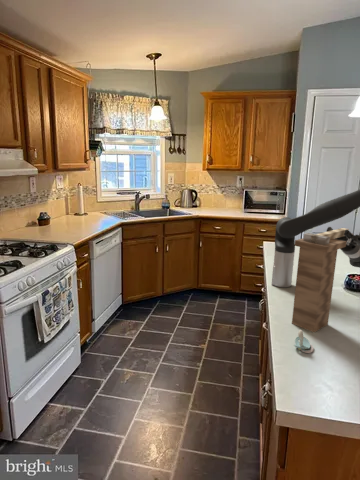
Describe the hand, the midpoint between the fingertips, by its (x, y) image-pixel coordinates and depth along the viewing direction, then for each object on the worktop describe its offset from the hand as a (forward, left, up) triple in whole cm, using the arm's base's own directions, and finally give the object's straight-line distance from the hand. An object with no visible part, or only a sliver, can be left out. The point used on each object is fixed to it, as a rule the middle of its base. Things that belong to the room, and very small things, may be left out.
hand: (337, 230), depth 131 cm
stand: (-6, -10, -34) cm, 36 cm away
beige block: (-2, -4, -2) cm, 5 cm away
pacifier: (-9, -30, -35) cm, 47 cm away
